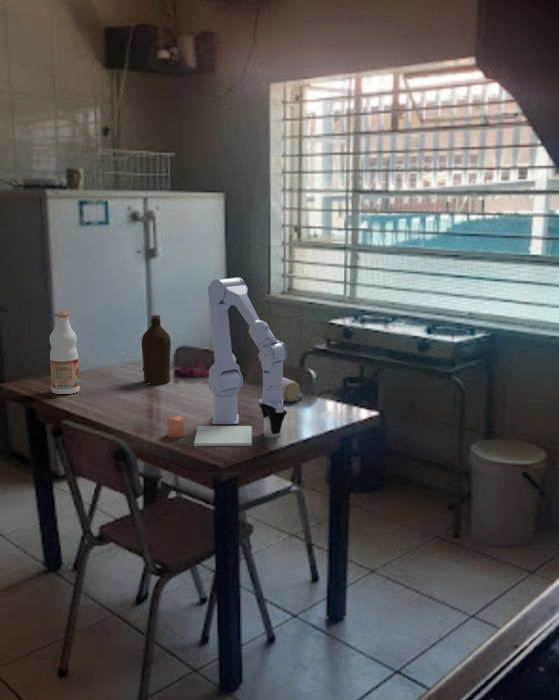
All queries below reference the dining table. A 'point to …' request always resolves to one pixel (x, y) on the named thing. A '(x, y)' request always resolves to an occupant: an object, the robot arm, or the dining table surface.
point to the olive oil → (156, 353)
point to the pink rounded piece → (175, 426)
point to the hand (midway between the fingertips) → (272, 430)
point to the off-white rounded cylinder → (269, 428)
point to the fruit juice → (64, 357)
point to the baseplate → (223, 436)
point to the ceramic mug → (290, 390)
